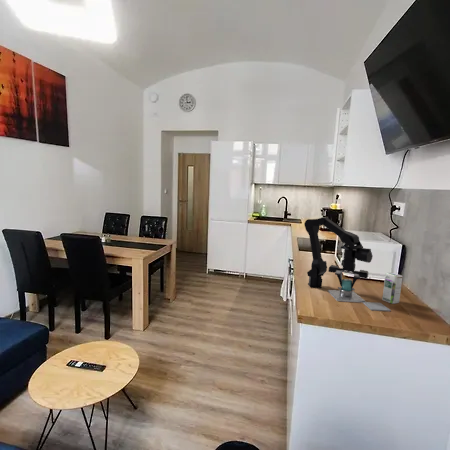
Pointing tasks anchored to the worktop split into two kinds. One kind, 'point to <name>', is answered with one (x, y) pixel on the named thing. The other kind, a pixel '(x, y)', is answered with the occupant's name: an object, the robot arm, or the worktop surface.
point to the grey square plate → (346, 295)
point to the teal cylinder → (346, 284)
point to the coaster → (376, 306)
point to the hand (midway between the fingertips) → (346, 287)
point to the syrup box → (392, 288)
